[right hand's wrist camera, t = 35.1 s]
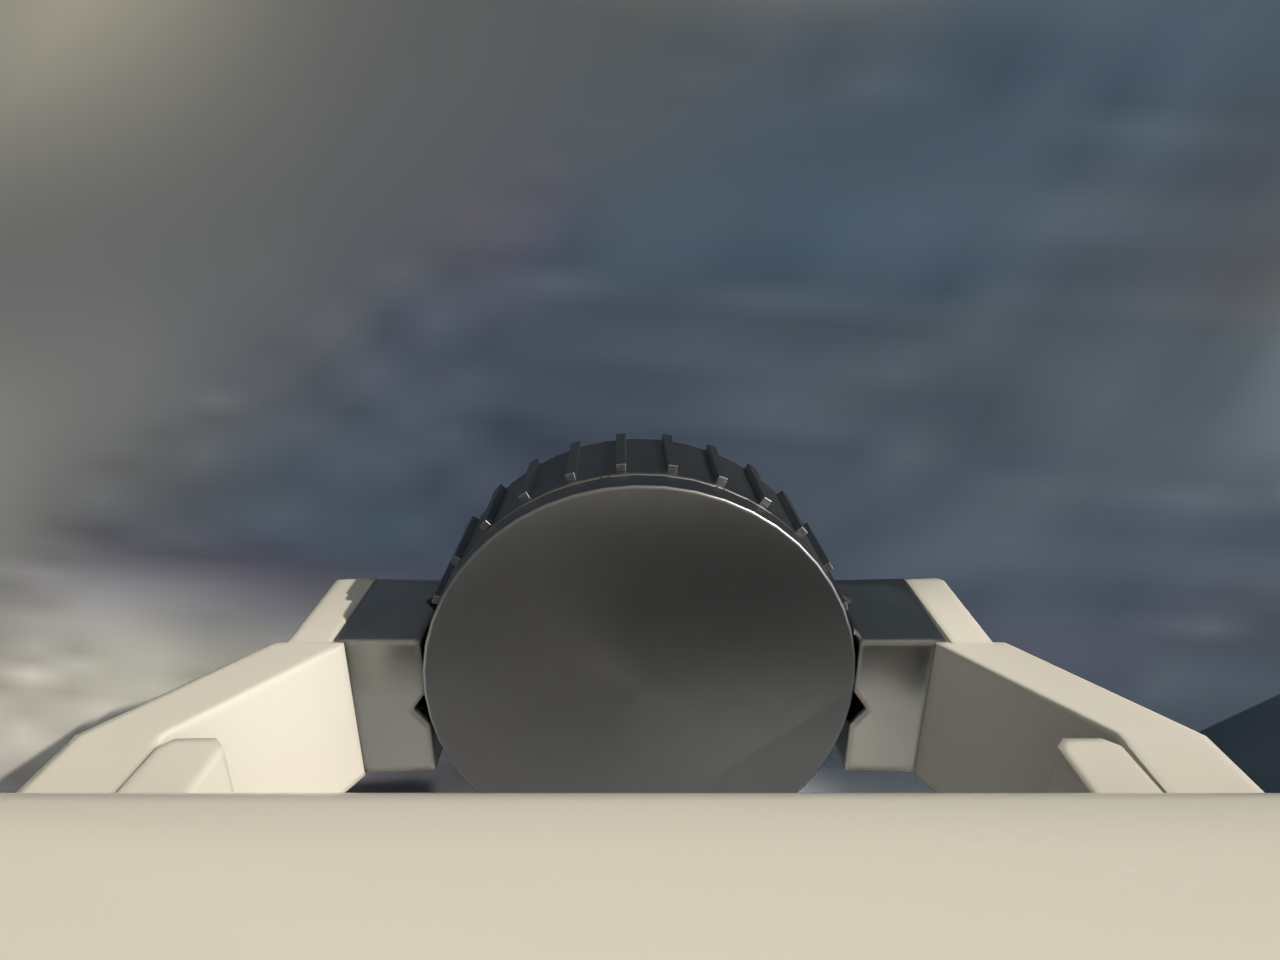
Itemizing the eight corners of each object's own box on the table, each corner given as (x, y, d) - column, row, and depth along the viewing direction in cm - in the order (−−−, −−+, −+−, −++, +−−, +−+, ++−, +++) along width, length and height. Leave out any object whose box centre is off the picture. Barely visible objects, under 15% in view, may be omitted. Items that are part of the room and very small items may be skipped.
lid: (744, 366, 9) (769, 401, 7) (873, 689, 10) (917, 775, 9) (377, 526, 9) (328, 590, 8) (551, 808, 11) (540, 908, 9)
